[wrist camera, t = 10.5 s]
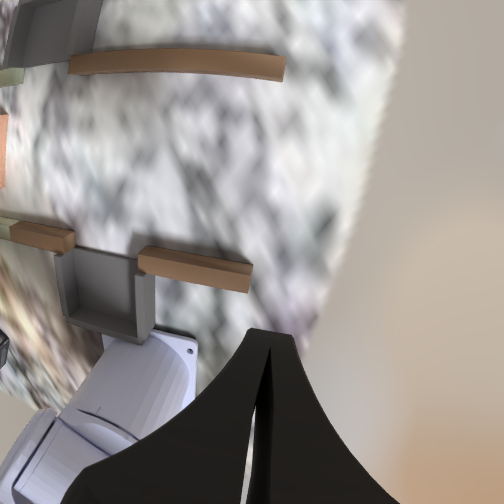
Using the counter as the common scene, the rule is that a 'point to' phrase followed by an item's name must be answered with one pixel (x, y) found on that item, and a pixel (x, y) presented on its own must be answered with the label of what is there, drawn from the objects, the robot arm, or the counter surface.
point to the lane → (155, 61)
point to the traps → (78, 259)
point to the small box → (3, 348)
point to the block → (3, 147)
